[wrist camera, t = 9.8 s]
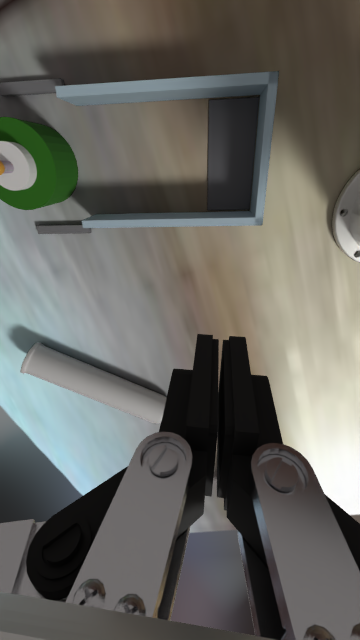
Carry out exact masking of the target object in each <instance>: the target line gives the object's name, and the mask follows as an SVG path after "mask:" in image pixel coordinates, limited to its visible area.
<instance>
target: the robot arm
mask: <svg viewBox="0 0 360 640" xmlns="http://www.w3.org/2000/svg"><path fill="white" fill-rule="evenodd" d="M342 209H343V212H342V213H341V214H340V211H341V210H342ZM332 228H333V235H334V238H335V240H336V243H337V245H338V246H339V248H340V249H341V251H343V252H344V253H345V254H346V255H347V256H348V257H350V258H351V259H353V260H354V261H357V262H359V263H360V169H359V170H358V171H357V172H356V173H355V174H354V175H353V177H352V178H351V179H350V180H349V181H348V182H347V184H346V186H345V187H344V189H343V190H342V192H341V194H340V196H339V198H338V200H337V202H336V205H335V209H334V213H333V221H332ZM355 252H356V253H355ZM354 253H355V254H354ZM218 345H219V340H218V339H213V335H203V334H198V335H197V343H196V351H195V358H194V366H193V370H184V369H173V372H172V376H171V381H170V385H169V390H168V394H167V399H166V403H165V408H164V412H163V417H162V421H161V426H160V430H159V432H158V433H154V434H152V435H150V436H148V437H146V438H145V439H144V440H143V441H142V442H141V443H140V444H139V446H138V447H137V449H136V451H135V453H134V455H133V457H132V459H131V461H130V464H129V466H128V467H126V468H124V469H123V470H121V471H120V472H118V473H117V474H115V475H114V476H112V477H111V478H109V479H108V480H106V481H105V482H103V483H102V484H100V485H99V486H97V487H96V488H94V489H93V490H91V491H90V492H88V493H87V494H85V495H84V496H82V497H81V498H80V499H78V500H76V501H75V502H73V503H72V504H70V505H69V506H67V507H66V508H64V509H63V510H61V511H60V512H58V513H57V514H55V515H53V516H52V517H51V518H50V519H49V520H48V521H45V522H38V523H35V521H34V519H31V520H24V521H15V522H8V523H0V640H360V524H359V523H358V522H357V521H355V520H354V519H353V518H352V517H351V516H350V515H349V514H347V513H346V512H345V511H344V510H343V509H341V508H340V507H339V506H338V505H337V504H336V503H334V502H333V501H332V500H331V499H330V498H328V497H327V496H326V495H325V494H324V492H323V490H322V488H321V486H320V484H319V481H318V479H317V477H316V475H315V473H314V471H313V469H312V467H311V465H310V464H309V462H308V461H307V459H306V458H305V457H304V456H303V455H302V454H301V453H299V452H298V451H296V450H295V449H293V448H291V447H289V446H286V445H284V444H283V442H282V437H281V433H280V429H279V424H278V420H277V415H276V411H275V406H274V402H273V397H272V393H271V388H270V384H269V380H268V377H267V376H260V375H251V372H250V365H249V358H248V351H247V344H246V338H245V337H235V336H230V337H229V340H223V347H222V358H221V370H220V381H219V392H218ZM217 432H218V435H217ZM216 443H217V497H221V498H224V510H227V518H228V519H229V520H230V522H231V523H232V524H233V525H234V526H235V528H236V529H237V530H238V540H239V546H240V551H241V556H242V563H243V568H244V574H245V579H246V585H247V591H248V597H249V602H250V608H251V613H252V620H253V625H254V631H255V636H253V635H247V634H242V633H236V632H231V631H225V630H219V629H213V628H208V627H203V626H197V625H191V624H186V623H180V622H174V621H170V619H171V614H172V610H173V606H174V601H175V596H176V592H177V587H178V582H179V577H180V573H181V568H182V564H183V559H184V555H185V550H186V545H187V541H188V536H189V531H190V526H191V525H192V524H193V523H194V522H195V521H196V520H197V519H199V518H200V517H201V516H202V515H203V512H204V498H205V496H211V495H212V485H213V474H214V464H215V454H216Z"/></svg>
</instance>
